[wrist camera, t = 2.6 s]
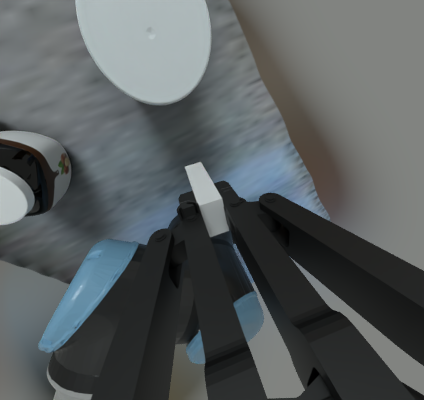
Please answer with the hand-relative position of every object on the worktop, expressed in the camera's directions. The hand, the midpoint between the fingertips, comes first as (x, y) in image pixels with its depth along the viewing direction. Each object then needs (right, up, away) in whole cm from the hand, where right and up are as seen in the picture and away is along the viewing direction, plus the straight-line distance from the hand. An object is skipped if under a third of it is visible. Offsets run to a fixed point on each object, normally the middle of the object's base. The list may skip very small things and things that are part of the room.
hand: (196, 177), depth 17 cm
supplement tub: (-7, +17, +9) cm, 21 cm away
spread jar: (-26, +5, +10) cm, 29 cm away
